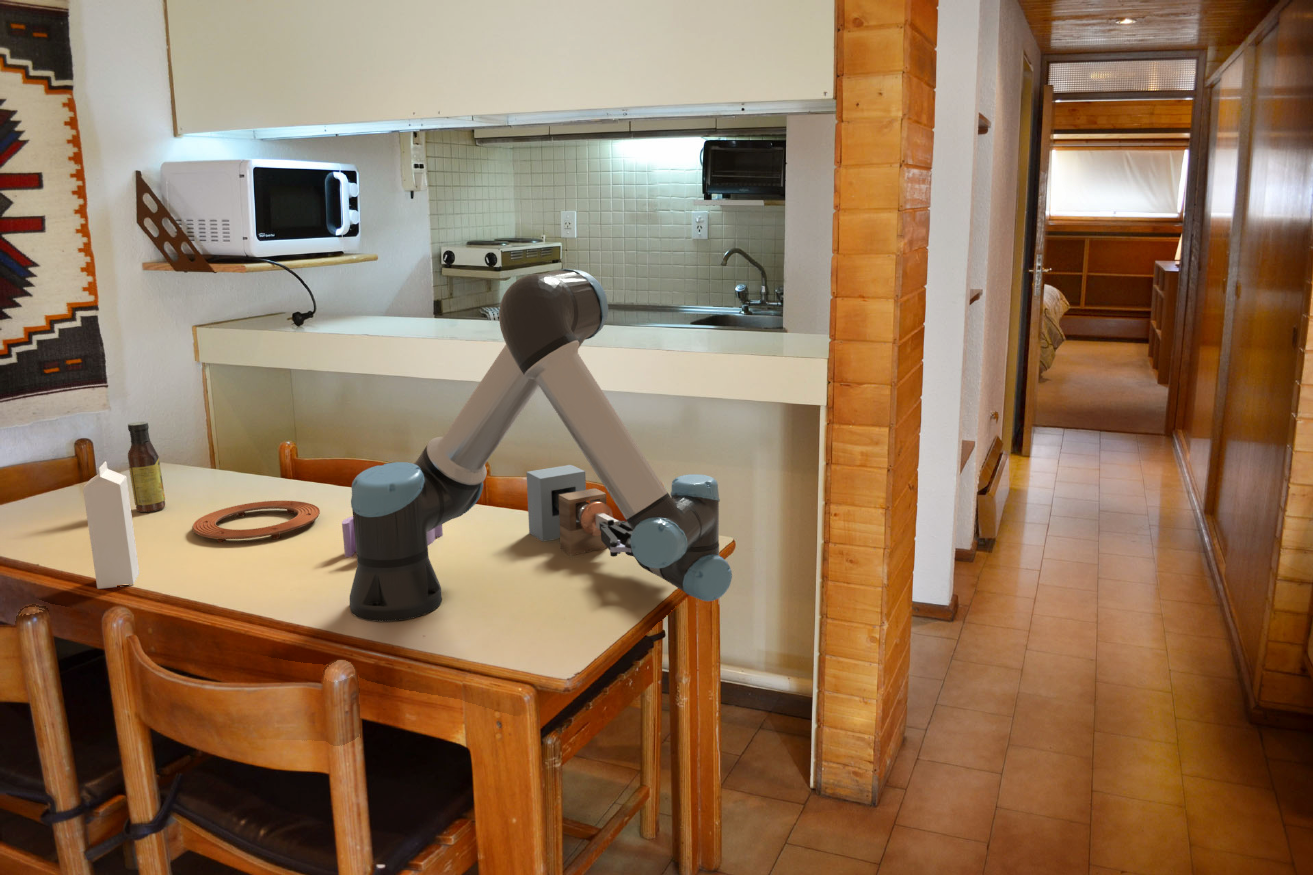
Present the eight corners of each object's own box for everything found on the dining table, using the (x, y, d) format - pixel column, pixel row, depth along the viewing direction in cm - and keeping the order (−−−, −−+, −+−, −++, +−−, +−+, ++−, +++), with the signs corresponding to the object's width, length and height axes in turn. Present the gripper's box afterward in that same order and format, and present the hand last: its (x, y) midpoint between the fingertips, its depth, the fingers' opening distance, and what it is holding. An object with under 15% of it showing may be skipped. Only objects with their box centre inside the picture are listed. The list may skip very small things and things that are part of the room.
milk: (97, 589, 186) (78, 470, 180) (104, 577, 191) (86, 462, 186) (134, 585, 187) (117, 467, 182) (140, 573, 193) (124, 459, 188)
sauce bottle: (172, 507, 235) (161, 422, 230) (146, 515, 230) (134, 427, 225) (154, 503, 238) (144, 419, 234) (128, 510, 233) (117, 424, 229)
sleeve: (571, 555, 199) (569, 500, 197) (560, 548, 203) (558, 494, 200) (607, 547, 203) (606, 493, 201) (596, 541, 207) (595, 488, 204)
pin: (583, 538, 195) (582, 505, 194) (543, 515, 210) (541, 484, 209) (613, 532, 198) (612, 500, 197) (571, 510, 213) (570, 480, 212)
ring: (166, 542, 212) (164, 530, 211) (243, 507, 236) (242, 496, 235) (275, 550, 206) (274, 539, 205) (343, 513, 229) (342, 503, 229)
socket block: (542, 541, 207) (540, 478, 204) (529, 533, 213) (526, 471, 210) (587, 532, 212) (585, 471, 209) (572, 524, 218) (570, 464, 215)
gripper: (631, 583, 174) (568, 545, 194) (696, 568, 180) (629, 532, 200) (630, 540, 172) (567, 506, 192) (696, 526, 179) (628, 495, 198)
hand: (599, 519), depth 196 cm, fingers closed
